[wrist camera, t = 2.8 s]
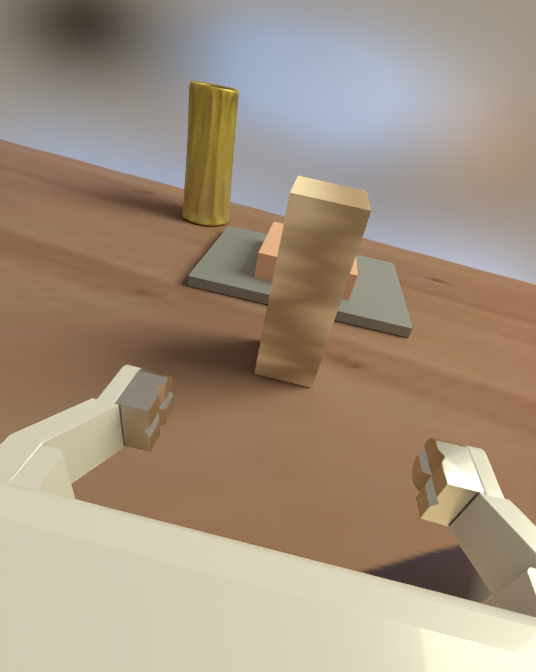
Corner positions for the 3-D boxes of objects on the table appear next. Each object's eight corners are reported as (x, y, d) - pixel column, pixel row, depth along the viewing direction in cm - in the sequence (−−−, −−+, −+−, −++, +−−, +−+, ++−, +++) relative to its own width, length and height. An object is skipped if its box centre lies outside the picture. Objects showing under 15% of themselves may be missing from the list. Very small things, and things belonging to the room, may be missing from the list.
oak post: (254, 373, 24) (289, 192, 17) (264, 340, 28) (298, 175, 21) (311, 388, 24) (371, 210, 17) (315, 352, 28) (366, 190, 20)
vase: (184, 206, 49) (189, 78, 40) (230, 213, 49) (243, 89, 41) (178, 222, 44) (181, 80, 35) (228, 229, 45) (243, 93, 36)
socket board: (187, 285, 32) (188, 249, 30) (227, 233, 44) (230, 204, 41) (408, 337, 31) (425, 303, 29) (390, 270, 43) (401, 243, 41)
